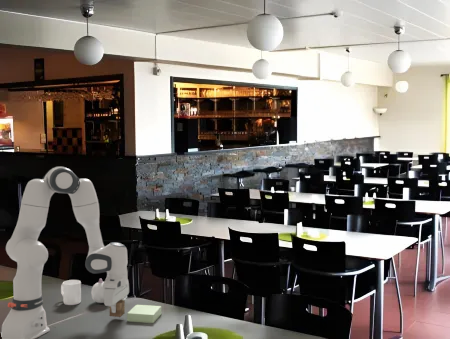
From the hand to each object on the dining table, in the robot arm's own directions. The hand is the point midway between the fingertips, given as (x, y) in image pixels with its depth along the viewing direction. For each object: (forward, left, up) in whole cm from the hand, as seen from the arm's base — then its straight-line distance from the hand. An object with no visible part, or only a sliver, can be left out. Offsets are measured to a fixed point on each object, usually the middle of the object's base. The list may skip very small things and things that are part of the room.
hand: (117, 310), depth 246 cm
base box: (+5, -11, -5) cm, 13 cm away
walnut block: (0, 0, -2) cm, 2 cm away
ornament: (+21, +16, -5) cm, 27 cm away
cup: (+19, +32, -5) cm, 37 cm away
